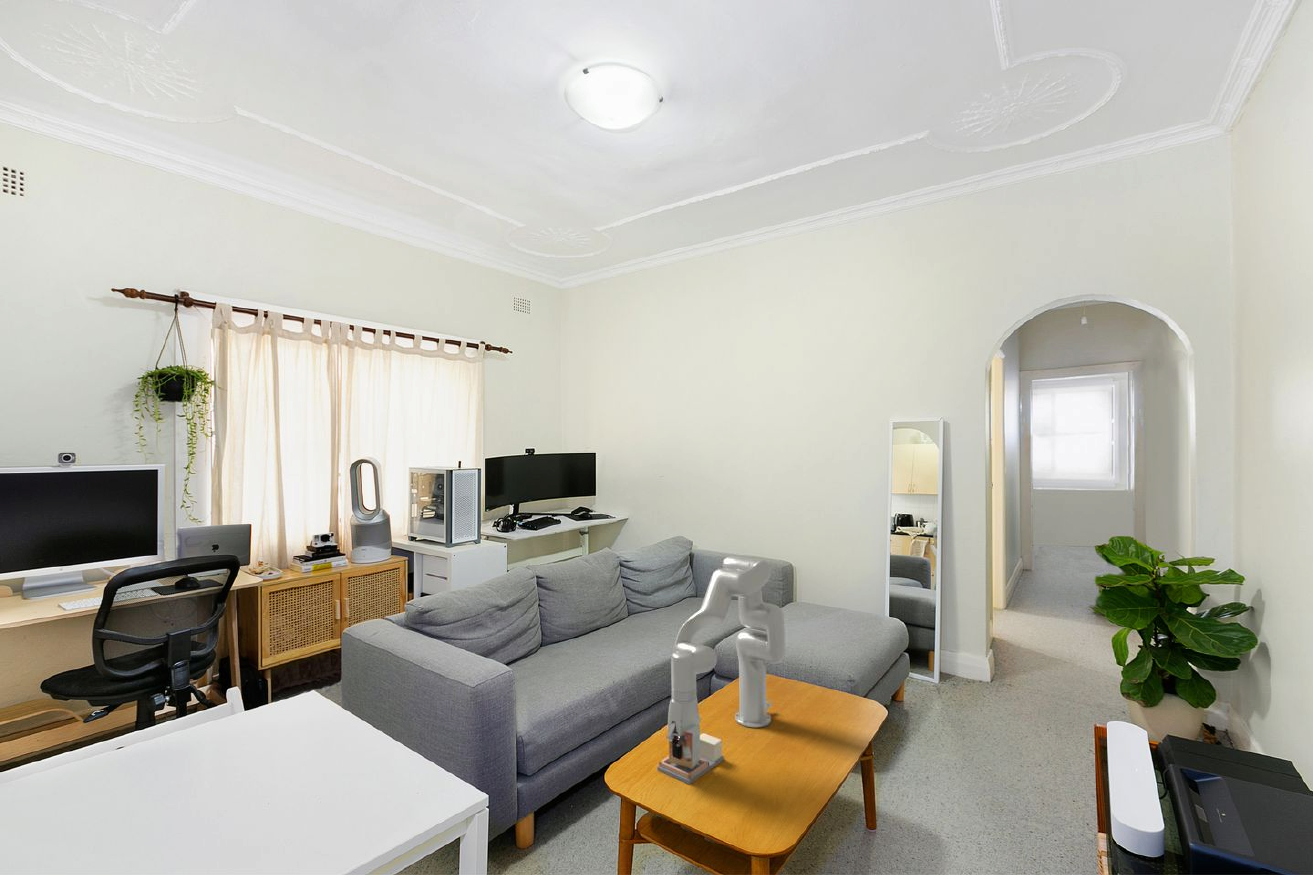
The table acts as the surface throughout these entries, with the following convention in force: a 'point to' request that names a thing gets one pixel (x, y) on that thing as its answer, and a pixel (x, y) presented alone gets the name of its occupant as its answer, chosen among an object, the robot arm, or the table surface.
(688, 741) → the small box
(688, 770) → the assembly board
